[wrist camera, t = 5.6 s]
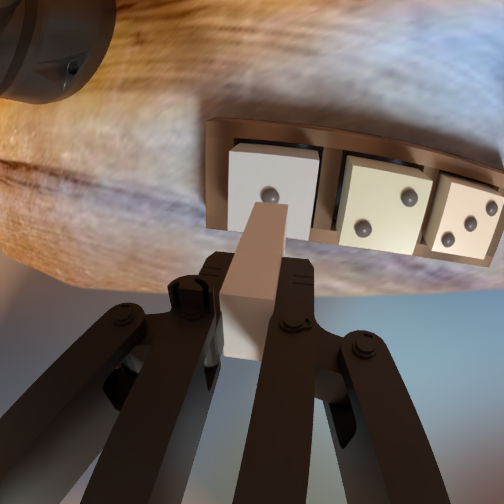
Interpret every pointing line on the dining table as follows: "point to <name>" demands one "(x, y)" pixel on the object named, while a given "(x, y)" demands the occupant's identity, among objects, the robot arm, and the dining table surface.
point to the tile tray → (336, 173)
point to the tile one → (272, 184)
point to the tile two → (381, 205)
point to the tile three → (462, 216)
